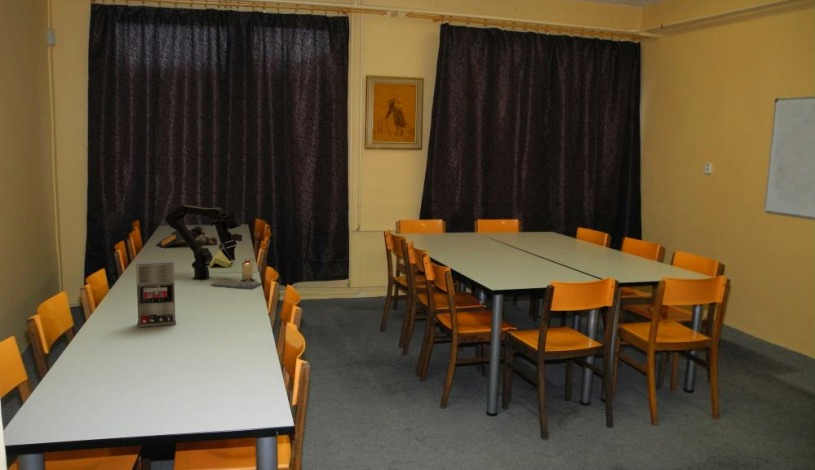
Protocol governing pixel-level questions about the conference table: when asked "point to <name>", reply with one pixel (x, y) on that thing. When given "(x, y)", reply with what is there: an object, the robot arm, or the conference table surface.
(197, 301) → the conference table surface
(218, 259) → the plastic component
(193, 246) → the robot arm
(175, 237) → the toolset
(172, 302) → the cassette tape recorder
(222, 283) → the plate
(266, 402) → the conference table surface
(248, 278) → the tan bottle
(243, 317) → the conference table surface
